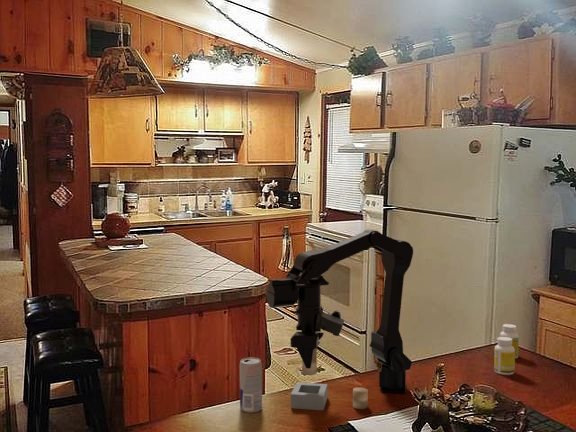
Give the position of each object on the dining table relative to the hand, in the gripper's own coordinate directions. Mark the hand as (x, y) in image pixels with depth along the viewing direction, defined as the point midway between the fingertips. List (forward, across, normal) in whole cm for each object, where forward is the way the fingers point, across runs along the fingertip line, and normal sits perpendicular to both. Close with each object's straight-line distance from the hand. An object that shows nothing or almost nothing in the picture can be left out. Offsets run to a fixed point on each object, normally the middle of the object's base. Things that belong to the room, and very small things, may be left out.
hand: (309, 365), depth 141 cm
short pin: (+10, 0, -12) cm, 16 cm away
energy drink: (+10, -6, +14) cm, 18 cm away
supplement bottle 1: (+10, +46, -55) cm, 73 cm away
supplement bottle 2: (+10, +31, -51) cm, 61 cm away
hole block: (+10, 0, 0) cm, 10 cm away
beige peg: (+2, 0, 0) cm, 2 cm away
